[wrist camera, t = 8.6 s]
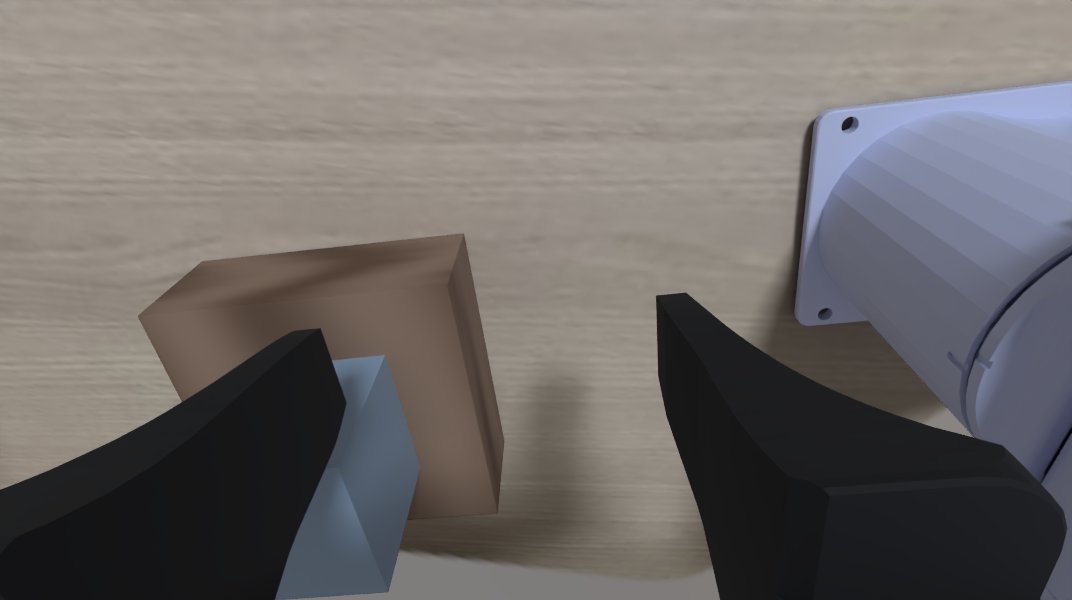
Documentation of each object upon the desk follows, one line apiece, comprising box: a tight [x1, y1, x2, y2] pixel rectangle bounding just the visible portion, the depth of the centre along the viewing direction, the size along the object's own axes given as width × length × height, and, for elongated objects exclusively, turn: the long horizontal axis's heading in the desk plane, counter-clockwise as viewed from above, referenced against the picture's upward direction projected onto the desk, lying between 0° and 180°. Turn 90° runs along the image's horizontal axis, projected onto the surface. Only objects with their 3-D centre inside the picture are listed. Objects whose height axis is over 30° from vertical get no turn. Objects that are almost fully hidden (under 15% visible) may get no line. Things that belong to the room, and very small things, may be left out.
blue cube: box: [275, 355, 420, 600], centre depth 19 cm, size 5×5×5 cm
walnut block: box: [138, 234, 504, 520], centre depth 23 cm, size 10×10×4 cm
